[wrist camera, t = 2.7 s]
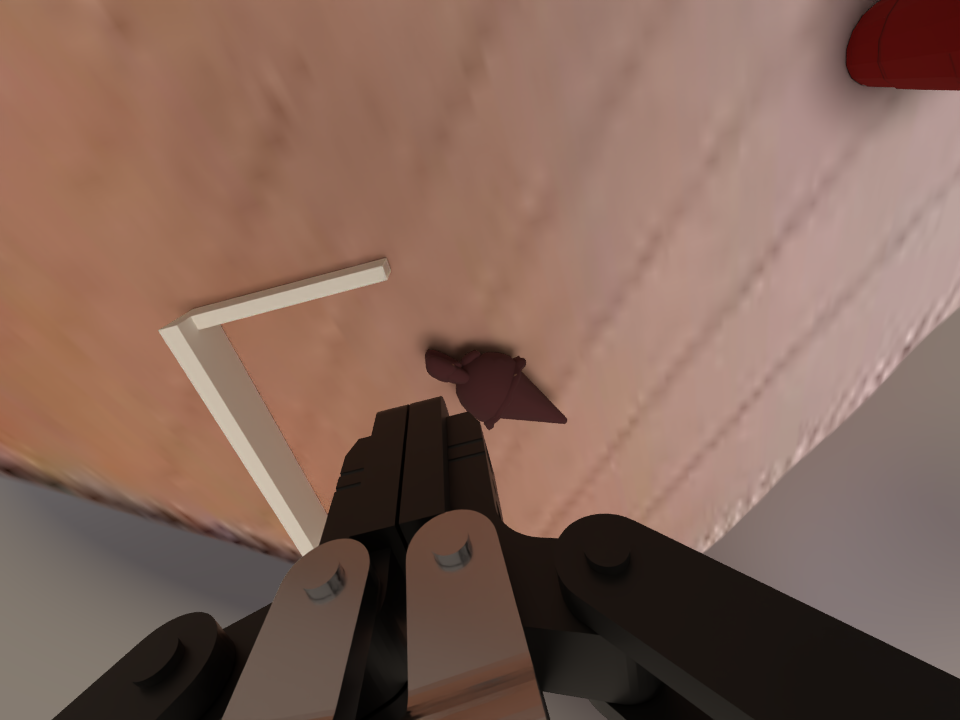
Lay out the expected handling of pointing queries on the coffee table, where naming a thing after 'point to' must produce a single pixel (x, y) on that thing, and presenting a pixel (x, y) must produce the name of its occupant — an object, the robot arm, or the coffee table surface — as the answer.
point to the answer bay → (241, 404)
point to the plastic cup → (907, 45)
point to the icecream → (493, 387)
